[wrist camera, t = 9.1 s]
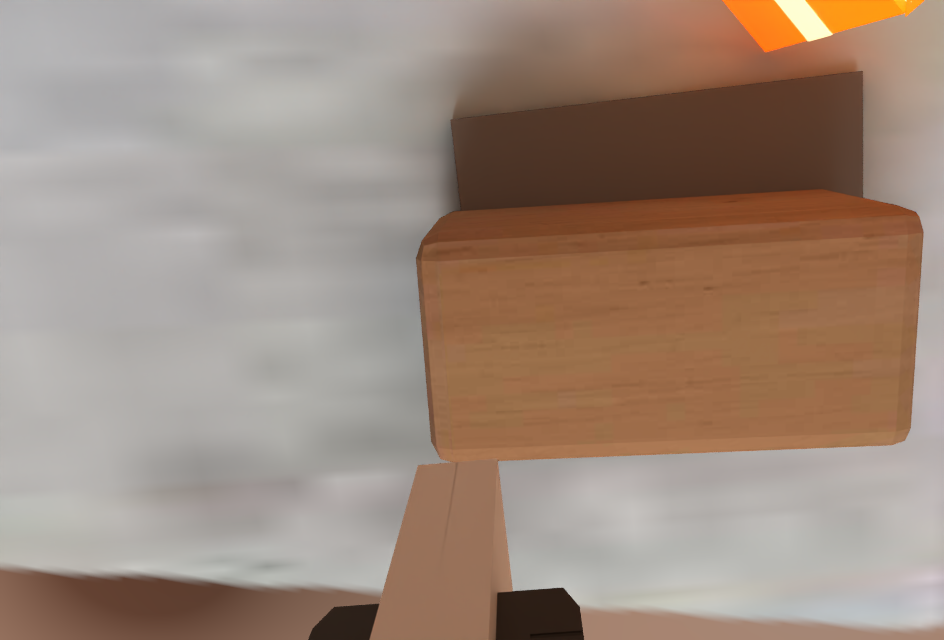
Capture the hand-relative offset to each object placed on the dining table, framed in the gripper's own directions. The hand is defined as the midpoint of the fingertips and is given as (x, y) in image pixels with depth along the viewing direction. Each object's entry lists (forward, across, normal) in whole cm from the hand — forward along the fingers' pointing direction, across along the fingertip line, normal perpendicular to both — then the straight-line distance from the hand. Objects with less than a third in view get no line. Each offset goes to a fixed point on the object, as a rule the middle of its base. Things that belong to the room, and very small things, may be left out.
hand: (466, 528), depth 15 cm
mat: (+28, +8, 0) cm, 30 cm away
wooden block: (+23, -3, -2) cm, 23 cm away
